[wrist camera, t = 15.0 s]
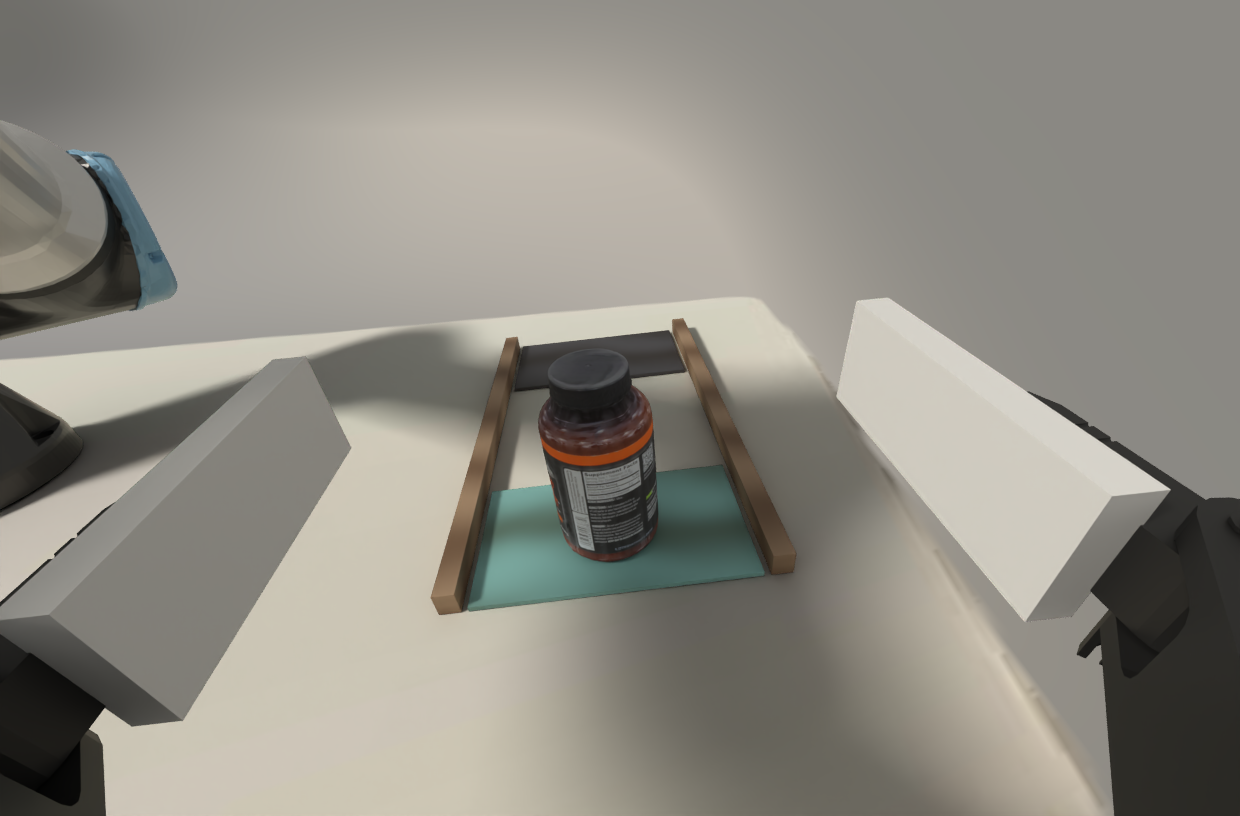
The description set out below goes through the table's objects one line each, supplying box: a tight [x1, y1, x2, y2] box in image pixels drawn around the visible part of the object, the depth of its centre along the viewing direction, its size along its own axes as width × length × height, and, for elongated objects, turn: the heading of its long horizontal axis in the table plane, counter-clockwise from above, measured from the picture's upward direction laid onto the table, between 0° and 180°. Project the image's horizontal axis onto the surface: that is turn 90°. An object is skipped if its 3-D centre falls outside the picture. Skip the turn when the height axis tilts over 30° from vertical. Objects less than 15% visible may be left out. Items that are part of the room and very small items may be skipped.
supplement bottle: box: [538, 349, 659, 562], centre depth 26 cm, size 6×6×11 cm
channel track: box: [431, 318, 796, 615], centre depth 39 cm, size 32×19×2 cm, turn 4°
